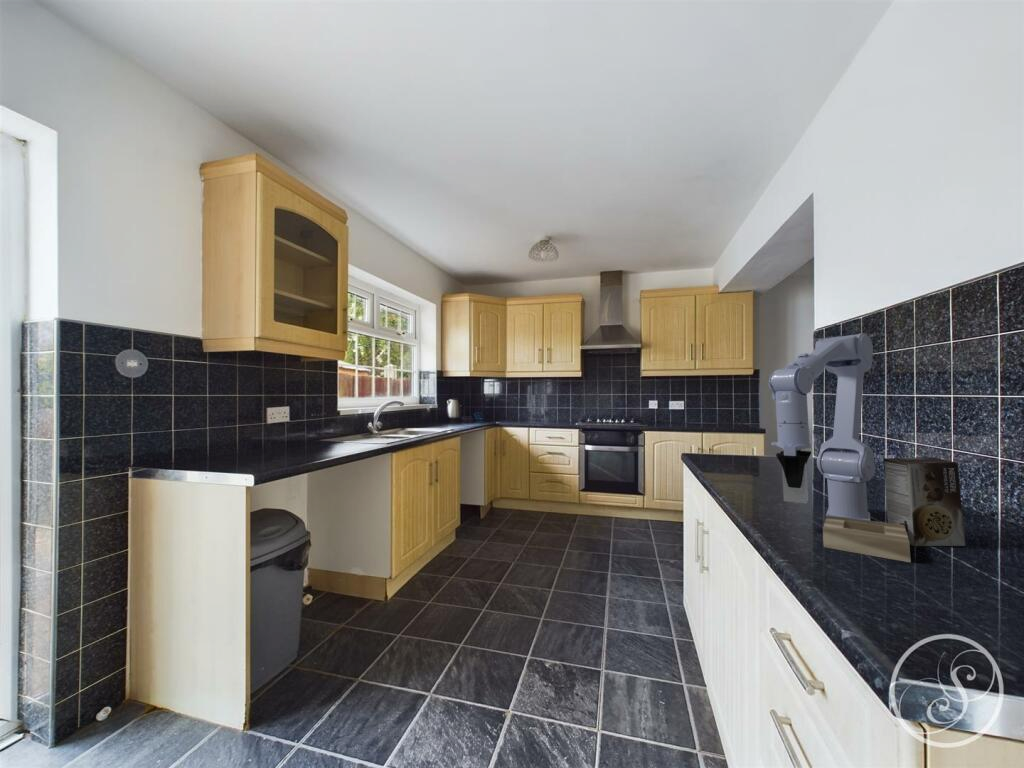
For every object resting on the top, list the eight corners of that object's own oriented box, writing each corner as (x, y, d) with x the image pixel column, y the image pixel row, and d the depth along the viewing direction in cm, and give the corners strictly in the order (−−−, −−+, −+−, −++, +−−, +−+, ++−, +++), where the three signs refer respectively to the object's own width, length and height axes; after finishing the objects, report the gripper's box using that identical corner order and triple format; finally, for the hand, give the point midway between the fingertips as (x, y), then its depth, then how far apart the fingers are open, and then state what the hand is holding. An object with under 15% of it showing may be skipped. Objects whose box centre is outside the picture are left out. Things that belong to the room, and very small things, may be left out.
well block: (827, 531, 87) (826, 514, 87) (905, 543, 79) (904, 525, 79) (823, 547, 78) (822, 528, 78) (910, 562, 70) (909, 542, 70)
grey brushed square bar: (786, 497, 90) (783, 457, 91) (808, 499, 88) (805, 458, 88) (783, 501, 87) (781, 459, 88) (806, 503, 85) (804, 460, 85)
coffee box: (934, 535, 83) (929, 457, 83) (966, 547, 76) (960, 461, 77) (886, 535, 84) (881, 457, 84) (914, 546, 77) (908, 462, 78)
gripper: (775, 421, 96) (778, 478, 96) (765, 424, 85) (768, 489, 85) (812, 421, 92) (815, 481, 91) (806, 425, 81) (810, 493, 80)
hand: (795, 485), depth 87 cm, fingers closed on grey brushed square bar, 4 cm apart
